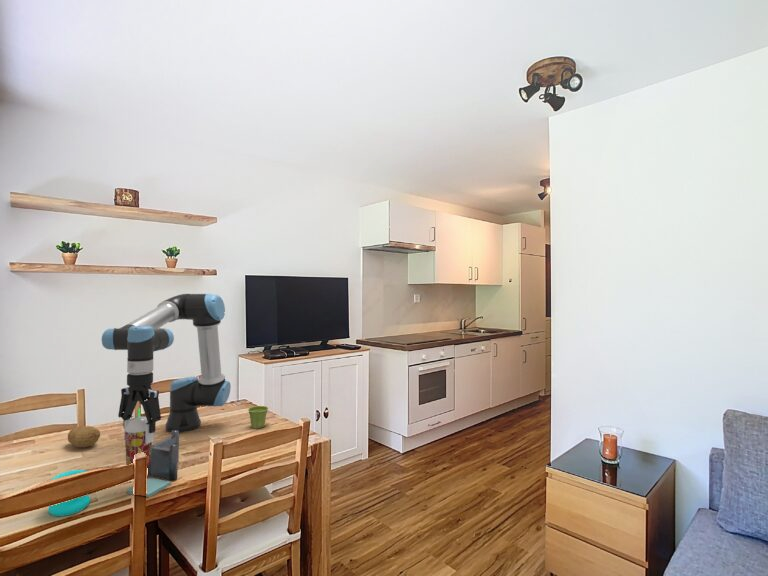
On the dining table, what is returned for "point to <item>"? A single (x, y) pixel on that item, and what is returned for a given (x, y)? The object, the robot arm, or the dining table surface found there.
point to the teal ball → (71, 505)
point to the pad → (153, 486)
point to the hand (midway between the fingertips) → (139, 440)
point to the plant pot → (258, 416)
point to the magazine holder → (165, 458)
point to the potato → (83, 436)
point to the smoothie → (136, 439)
